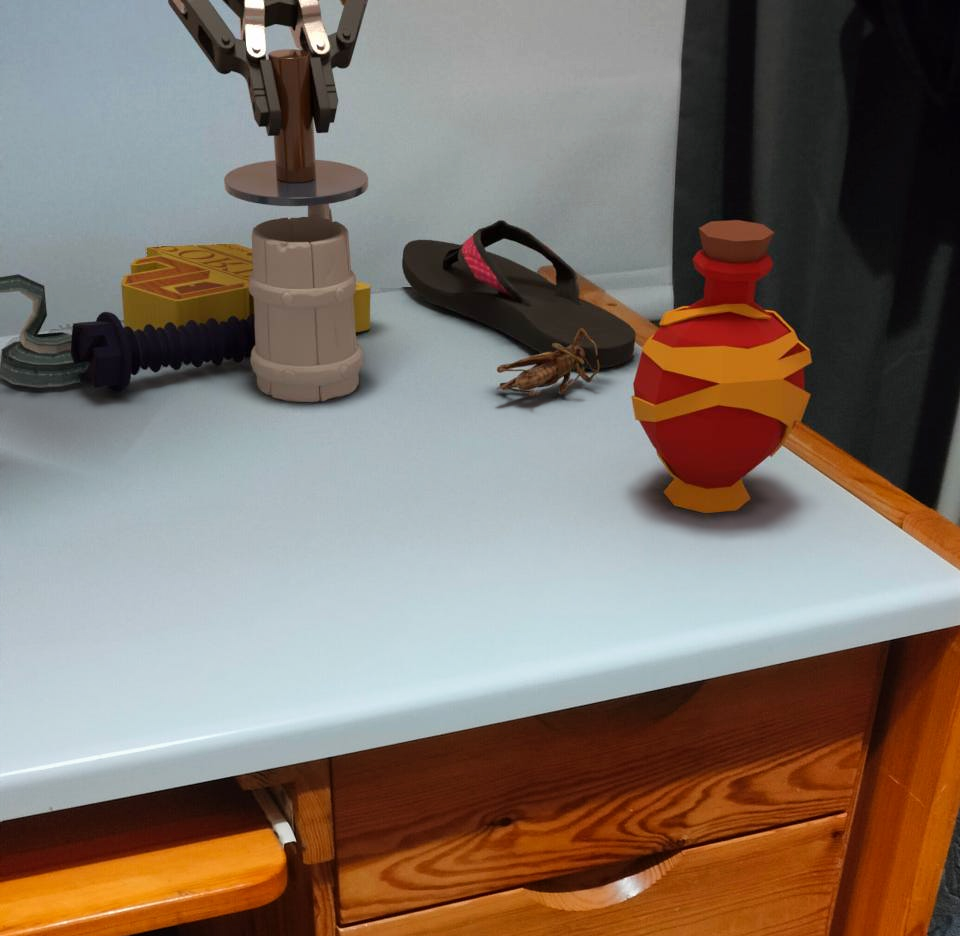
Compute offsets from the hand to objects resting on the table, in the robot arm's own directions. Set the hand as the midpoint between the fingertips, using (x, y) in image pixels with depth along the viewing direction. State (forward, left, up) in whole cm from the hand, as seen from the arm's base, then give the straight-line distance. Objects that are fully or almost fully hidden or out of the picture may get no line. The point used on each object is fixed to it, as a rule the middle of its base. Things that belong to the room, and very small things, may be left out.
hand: (299, 125), depth 103 cm
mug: (-1, +2, -16) cm, 16 cm away
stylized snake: (-17, -5, -16) cm, 24 cm away
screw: (-7, -2, -16) cm, 17 cm away
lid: (-1, +2, -4) cm, 4 cm away
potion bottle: (+31, -6, -16) cm, 35 cm away
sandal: (+8, +19, -16) cm, 26 cm away
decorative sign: (-11, +16, -15) cm, 24 cm away
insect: (+18, +4, -14) cm, 23 cm away
